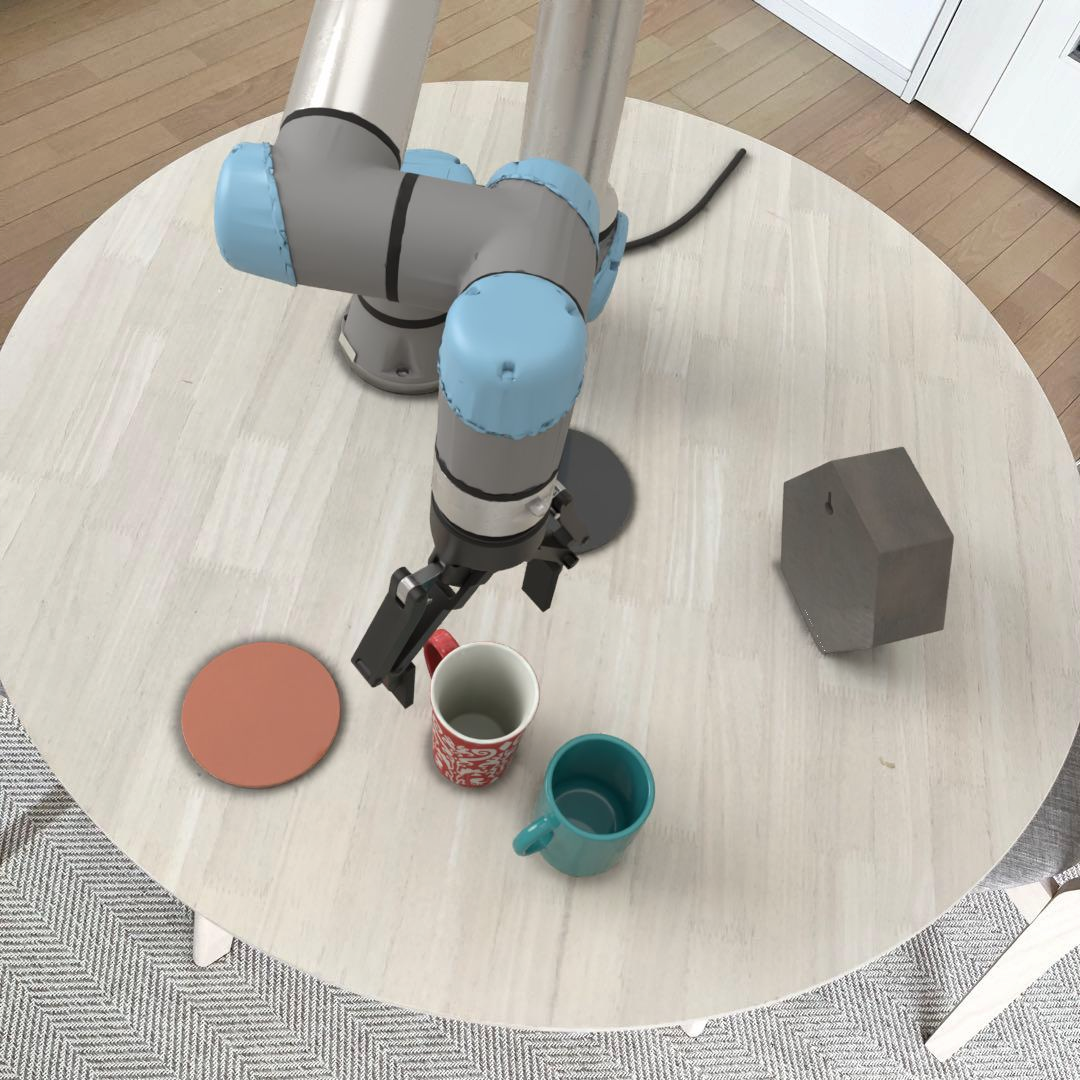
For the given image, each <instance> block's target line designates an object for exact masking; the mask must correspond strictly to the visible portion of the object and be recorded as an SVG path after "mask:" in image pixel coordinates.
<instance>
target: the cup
mask: <svg viewBox="0 0 1080 1080" xmlns="http://www.w3.org/2000/svg"><path fill="white" fill-rule="evenodd" d="M655 799H656V783H655V778H654V774H653V772H652V770H651V767H650V765H649V763H648V761H647V760H646V758H645V757H644V756H643V754H641V753H640V751H639V750H638V749H637V748H635V746H633V745H632V744H630V743H629V742H628V741H626V740H624V739H622V738H619V737H617V736H614V735H611V734H606V733H586V734H582V735H577V736H576V737H574V738H572V739H569V740H568V741H566V742H565V743H563V744H562V745H561V746H560V747H559V748H558V749H557V750H556V751H555V752H554V754H553V755H552V757H551V758H550V761H549V762H548V765H547V767H546V771H545V773H544V775H543V779H542V782H541V784H540V787H539V790H538V792H537V795H536V798H535V801H534V803H533V804H534V805H533V807H532V810H531V814H530V824H529V825H527V826H526V827H524V828H523V829H522V830H521V831H520V832H519V833H517V835H516V836H515V837H514V838H513V839H512V842H511V845H512V849H513V852H514V853H515V855H517V856H518V857H522V858H524V857H528V856H531V855H534V854H536V853H539V854H540V856H541V857H542V858H543V860H544V861H546V863H548V865H550V866H551V867H552V868H554V869H555V870H557V871H559V872H560V873H563V874H565V875H569V876H573V877H583V878H586V877H594V876H598V875H601V874H603V873H606V872H607V871H609V870H611V869H613V867H615V866H616V865H617V864H618V863H619V862H620V861H621V860H622V859H623V857H624V856H625V854H626V853H627V852H628V850H629V848H630V847H631V845H632V843H633V842H634V840H635V839H636V837H637V836H638V834H639V832H640V831H641V829H643V826H644V825H645V823H646V822H647V820H648V819H649V817H650V816H651V813H652V811H653V808H654V805H655Z"/></svg>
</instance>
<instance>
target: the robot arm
mask: <svg viewBox="0 0 1080 1080" xmlns="http://www.w3.org/2000/svg"><path fill="white" fill-rule="evenodd" d="M442 3H443V0H315V2H314V6H313V9H312V11H311V16H310V19H309V23H308V26H307V29H306V33H305V37H304V40H303V44H302V47H301V51H300V55H299V57H298V62H297V64H296V68H295V71H294V74H293V78H292V81H291V86H290V89H289V92H288V96H287V99H286V103H285V106H284V110H283V114H282V117H281V120H280V124H279V127H278V130H279V131H278V134H277V137H276V140H275V142H274V144H271V143H270V142H269V141H268V142H267V141H266V142H265V141H262V142H261V143H260V142H259V143H257V142H250V141H243V142H239V143H236V144H235V145H234V146H233V147H232V149H231V151H230V152H229V154H228V155H227V156H226V158H225V159H224V160H223V163H222V165H221V167H220V171H219V175H218V180H217V184H216V188H215V196H214V207H213V225H214V226H213V227H214V235H215V240H216V244H217V245H218V248H219V253H220V255H221V257H222V259H223V260H224V262H225V263H226V264H227V265H228V266H229V267H231V268H232V269H234V270H236V271H239V272H242V273H246V274H249V275H253V276H257V277H259V278H263V279H268V280H271V281H275V282H279V283H282V284H285V285H289V286H291V287H294V288H297V287H298V286H299V285H300V286H305V287H310V288H317V289H322V290H327V291H328V290H329V291H334V292H340V293H346V294H350V295H351V294H352V295H351V297H350V300H349V302H348V304H347V306H346V308H345V310H344V312H343V314H342V318H341V321H340V327H339V328H340V330H339V333H340V335H339V337H338V342H339V343H340V348H341V351H342V354H343V357H344V359H345V362H346V363H347V364H348V366H349V368H351V369H352V371H353V372H354V373H355V374H356V375H357V376H358V377H360V378H361V379H362V380H363V381H365V382H367V383H368V384H370V385H372V386H374V387H376V388H377V389H381V390H383V391H387V392H391V393H396V394H401V395H421V394H422V395H423V394H429V393H433V392H436V391H438V399H437V400H438V401H437V419H436V420H437V421H436V423H437V424H436V434H435V440H434V442H435V443H434V448H433V461H432V475H431V484H430V485H431V486H430V487H431V492H430V506H429V528H430V533H431V536H432V537H431V538H432V541H433V544H434V547H433V550H432V551H431V553H430V555H429V557H428V558H427V565H426V566H424V567H423V568H420V569H419V570H417V571H415V572H413V573H412V572H410V571H409V569H408V568H407V567H406V566H399V568H397V569H396V570H395V571H394V572H392V574H391V576H390V579H389V580H390V581H389V585H388V591H387V593H386V595H385V597H384V599H383V600H382V601H381V603H380V606H379V608H378V610H377V611H376V613H375V615H374V616H373V618H372V621H371V622H370V624H369V625H368V627H367V629H366V631H365V633H364V634H363V636H362V638H361V640H360V641H359V644H358V646H357V647H356V649H355V651H354V652H353V654H352V656H351V658H350V663H351V664H352V665H353V666H354V668H355V669H356V670H357V672H358V673H359V674H360V675H361V676H362V677H363V679H364V680H365V681H366V682H367V684H368V685H369V686H370V687H371V688H372V689H374V688H377V687H378V686H380V685H383V686H384V687H385V689H386V690H387V691H388V692H390V693H392V695H393V696H394V697H395V698H396V700H397V701H398V702H399V704H400V705H401V706H402V707H403V708H404V710H407V709H408V708H409V707H411V706H412V705H414V703H415V702H414V701H415V686H416V669H417V666H416V664H414V662H413V661H414V659H415V658H416V656H417V655H418V654H419V653H420V651H421V650H422V649H423V646H424V645H425V644H426V642H427V641H428V640H429V638H430V637H431V636H432V635H433V633H434V632H435V631H436V630H437V629H439V627H440V626H441V625H442V623H443V622H444V621H445V619H447V617H448V616H449V614H450V613H451V612H452V611H455V610H461V609H462V608H464V607H465V605H467V603H468V602H469V600H470V599H471V598H472V596H473V595H474V594H475V592H476V591H477V590H478V589H479V587H480V586H483V585H486V584H487V583H488V582H489V580H490V579H491V578H492V577H493V575H494V574H496V573H498V572H501V571H502V572H503V571H506V570H510V569H513V568H515V567H517V566H519V565H521V564H523V563H524V562H525V563H526V566H525V571H524V575H523V580H522V584H521V590H522V592H524V594H525V595H526V596H527V597H528V598H529V599H530V600H531V601H532V603H534V605H535V606H536V607H537V608H538V609H539V610H540V611H541V613H545V612H547V611H548V610H549V609H551V606H552V604H553V603H552V602H553V599H554V595H555V592H556V588H557V583H558V580H559V576H560V575H561V573H562V571H563V568H566V569H567V570H571V569H573V568H574V567H575V566H576V565H577V564H578V563H579V561H580V558H579V557H578V555H577V554H574V553H573V552H572V551H571V548H572V547H573V546H574V545H575V544H576V543H578V544H579V545H580V546H582V545H584V544H586V543H587V542H588V541H589V540H590V539H591V534H590V532H589V531H588V530H587V528H586V527H585V526H584V524H583V523H582V522H581V520H580V519H579V518H578V516H577V515H576V514H575V512H574V511H573V505H574V496H573V495H572V494H571V493H570V492H569V491H568V490H567V489H566V488H565V487H564V486H563V485H562V484H561V483H560V482H559V481H558V480H557V479H556V478H557V473H558V470H559V467H560V464H561V459H562V454H563V447H564V444H565V440H566V436H567V433H568V429H570V426H571V421H572V418H573V414H574V410H575V406H576V401H577V399H578V398H579V396H580V394H581V390H582V387H583V384H584V380H585V375H584V374H585V373H584V372H585V366H586V362H587V360H588V359H587V358H588V357H587V355H588V353H587V347H588V330H587V324H589V323H592V322H593V321H595V320H596V319H598V317H600V315H601V314H602V313H603V311H604V309H605V307H606V305H607V304H608V301H609V298H610V296H611V293H612V292H613V288H614V286H615V283H616V279H617V276H618V273H619V267H620V265H621V261H622V259H623V257H624V253H625V252H627V251H631V250H634V249H637V248H641V247H645V246H646V245H649V244H652V243H654V242H657V241H659V240H661V239H663V238H665V237H667V236H669V235H671V234H673V233H675V232H676V231H678V230H679V229H681V228H683V226H685V225H686V224H687V223H689V222H690V221H691V220H692V219H693V218H695V217H696V216H697V215H698V214H700V212H701V211H703V209H704V208H705V207H706V206H707V205H708V203H709V202H710V201H711V200H712V198H713V197H714V195H715V194H716V193H717V191H719V189H720V187H722V185H723V184H724V183H725V181H727V179H728V178H729V176H731V174H732V173H733V171H734V170H735V169H736V167H737V166H738V165H739V163H740V162H741V161H742V160H743V158H744V157H745V156H746V155H747V149H746V148H743V147H741V148H740V149H739V150H738V151H737V153H736V154H735V155H734V157H733V158H732V159H731V160H730V162H729V163H728V165H726V167H725V169H723V171H722V172H721V174H720V175H719V176H718V177H717V178H716V179H715V181H714V182H713V184H711V186H710V187H709V189H708V190H707V191H706V192H705V194H704V195H703V196H702V198H700V200H698V202H697V203H696V204H695V205H694V206H693V207H692V208H691V209H689V210H688V211H687V212H686V213H684V214H683V215H682V216H681V217H680V218H678V219H677V220H676V221H674V222H673V223H671V224H669V225H667V226H666V227H664V228H662V229H660V230H657V231H656V232H653V233H651V234H648V235H646V236H644V237H640V238H638V239H634V240H631V241H627V239H628V235H629V217H628V215H627V214H626V213H625V212H623V211H621V210H620V209H619V200H618V195H617V192H616V191H615V188H614V187H613V186H612V185H611V183H610V182H609V177H610V173H611V167H612V163H613V158H614V154H615V149H616V145H617V139H618V135H619V131H620V126H621V122H622V121H621V120H622V116H623V111H624V107H625V102H626V97H627V92H628V89H629V88H628V87H629V85H630V84H629V83H630V78H631V74H632V69H633V65H634V60H635V55H636V50H637V46H638V42H639V36H640V32H641V27H642V22H643V17H644V13H645V10H646V9H645V8H646V4H647V0H539V2H538V9H537V17H536V24H535V30H534V39H533V46H532V54H531V61H530V69H529V75H528V84H527V91H526V100H525V107H524V114H523V121H522V129H521V137H520V145H519V152H518V159H517V161H511V162H507V163H506V164H504V165H503V166H501V167H500V168H498V169H497V170H495V172H494V173H493V174H492V175H491V176H490V177H489V180H488V181H487V182H486V184H485V185H482V184H479V183H478V184H477V180H476V179H475V176H474V174H473V172H472V170H471V168H470V167H469V165H468V164H466V163H461V159H460V158H459V157H457V156H455V155H453V154H451V153H448V152H445V151H442V150H438V149H431V148H413V149H407V148H408V144H409V140H410V136H411V131H412V129H413V128H412V127H413V123H414V119H415V114H416V110H417V107H418V102H419V99H420V94H421V90H422V87H423V86H422V85H423V81H424V77H425V74H426V69H427V65H428V62H429V57H430V52H431V48H432V44H433V40H434V36H435V31H436V28H437V23H438V19H439V17H440V11H441V6H442ZM549 514H550V515H551V516H552V517H553V518H554V519H555V520H556V521H557V522H558V523H559V524H560V525H561V527H560V528H559V529H557V530H556V531H555V532H554V531H553V530H552V529H548V528H546V527H547V522H548V518H549ZM451 586H452V587H455V588H458V590H457V591H456V592H455V590H454V589H453V588H452V587H451Z"/></svg>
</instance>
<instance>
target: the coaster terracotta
mask: <svg viewBox="0 0 1080 1080" xmlns="http://www.w3.org/2000/svg"><path fill="white" fill-rule="evenodd" d="M340 720H341V699H340V695H339V691H338V688H337V685H336V683H335V681H334V678H333V677H332V675H331V673H330V672H329V670H328V669H327V668H326V666H325V665H323V663H321V661H320V660H318V659H317V658H316V657H315V656H313V654H310V653H309V652H307V651H305V650H303V649H301V648H299V647H296V646H294V645H290V644H287V643H282V642H276V641H275V642H274V641H260V642H257V641H256V642H252V643H251V642H250V643H246V644H243V645H239V646H236V647H233V648H231V649H229V650H227V651H225V652H223V653H221V654H220V655H217V656H216V657H215V658H214V659H212V660H211V661H210V662H208V663H207V665H205V666H204V667H203V668H202V669H201V670H200V671H199V673H198V674H197V675H196V677H194V679H193V681H192V682H191V684H190V685H189V687H188V690H187V692H186V694H185V698H184V700H183V703H182V709H181V722H180V723H181V724H180V725H181V731H182V736H183V739H184V742H185V746H186V747H187V749H188V751H189V753H190V755H191V757H192V758H193V759H194V761H195V762H196V763H197V764H198V765H199V767H200V768H201V769H203V770H204V771H205V772H206V773H208V774H209V775H211V776H212V777H214V778H215V779H217V780H219V781H221V782H224V783H225V784H229V785H232V786H235V787H241V788H246V789H247V788H250V789H260V788H261V789H263V788H270V787H275V786H279V785H282V784H285V783H288V782H290V781H291V782H292V781H293V780H295V779H297V778H299V777H300V776H302V775H304V774H305V773H307V772H308V771H309V770H311V769H312V768H313V767H315V765H317V763H319V761H320V760H321V759H322V758H323V757H324V756H325V755H326V753H327V752H328V750H329V749H330V747H332V743H333V742H334V740H335V738H336V736H337V732H338V730H339V725H340Z"/></svg>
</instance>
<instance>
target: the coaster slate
mask: <svg viewBox="0 0 1080 1080" xmlns="http://www.w3.org/2000/svg"><path fill="white" fill-rule="evenodd" d="M556 479H557V480H558V481H559V482H560V483H561V484H562V485H563V486H564V487H565V488H566V489H567V490H568V491H569V492H570V493H571V494H572V495H573V496H574V505H573V511H574V512H575V514H576V515H577V516H578V518H579V519H580V520H581V522H582V523H583V524H584V526H585V527H586V528H587V530H588V531H589V532H590V534H591V539H590V540H589V541H588V542H587V543H586V544H584V545H582V546H580V545H579V544H578V543H576V544H575V545H574V546H573V547H572V548H571V551H572V552H573V553H574V554H575V555H579V554H583V553H586V552H589V551H593V550H595V549H597V548H599V547H601V546H603V545H604V544H606V543H607V542H609V541H610V540H611V539H613V538H614V537H615V536H616V535H617V534H618V533H619V532H620V530H621V529H622V528H623V526H624V524H625V523H626V521H627V518H628V516H629V515H630V511H631V506H632V498H633V493H632V491H633V490H632V484H631V479H630V476H629V475H628V472H627V470H626V468H625V466H624V464H623V462H622V461H621V460H620V459H619V457H618V456H617V455H616V454H615V453H614V452H613V451H612V449H610V448H609V447H608V446H607V445H605V443H603V442H601V441H600V440H599V439H598V438H595V437H593V436H591V435H589V434H587V433H585V432H582V431H579V430H576V429H572V428H569V429H568V433H567V436H566V440H565V444H564V447H563V454H562V459H561V464H560V467H559V470H558V473H557V478H556ZM560 527H561V525H560V524H559V523H558V522H557V521H556V520H555V519H554V518H553V517H552V516H551V515H550V514H549V518H548V522H547V527H546V528H548V529H552V530H553V531H554V532H555V531H556V530H557V529H559V528H560Z"/></svg>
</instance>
